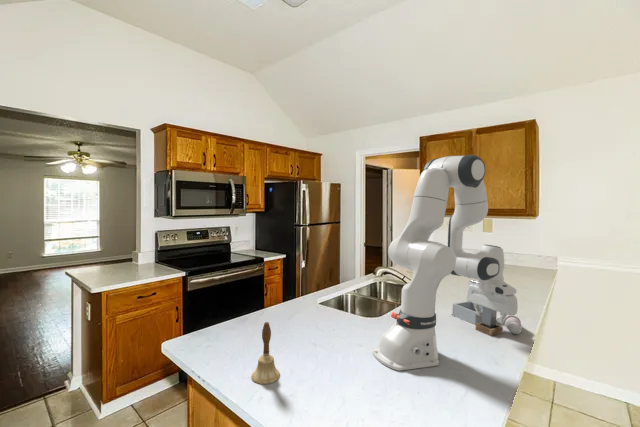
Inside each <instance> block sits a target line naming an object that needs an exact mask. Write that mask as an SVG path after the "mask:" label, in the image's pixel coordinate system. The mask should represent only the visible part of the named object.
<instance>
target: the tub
mask: <svg viewBox="0 0 640 427" xmlns="http://www.w3.org/2000/svg"><path fill="white" fill-rule="evenodd" d="M479 308H480V310H481V311H482V315H480V316H479V315H476V310H475V307H474V303H471V302H469V301H467V300H466V301H461V302H457V303H456V302H455V303H452V314H451V315H452V316H453V317H456V318H458V319H461V320H462V321H466V322H468V323H470V324H472V325H475V326H476V323H480V322H482V318H483V306H479Z"/></svg>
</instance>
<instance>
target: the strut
mask: <svg viewBox="0 0 640 427" xmlns="http://www.w3.org/2000/svg"><path fill="white" fill-rule="evenodd" d="M497 312H498V311H495V310H492V309H490V308H487V307H484V306H483V318H482V326H485V327H487V328H490V329H493V328H496V325H497Z"/></svg>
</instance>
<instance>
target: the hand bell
mask: <svg viewBox="0 0 640 427" xmlns="http://www.w3.org/2000/svg"><path fill="white" fill-rule="evenodd" d="M271 337H272V330H271V326H270V322H269V321H266V322H264V323H263V327H262V330H261V338H262V343H263V350H262V351H263V355H261V356H259V357H258V360H257V361H258V362H257V366H256V368H255V370H254V371H253V372H252V373H251V376H250V377H251V380H252V382H254V383H256V384H259V385H268V384H272V383H275V382H277V381H278V380H279V379H280V377H281V373H280V371H279V370H278V369H277V368H276V365H275V359H274V356H273V355H271V354H270V341H271Z"/></svg>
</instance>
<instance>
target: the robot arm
mask: <svg viewBox="0 0 640 427" xmlns="http://www.w3.org/2000/svg"><path fill="white" fill-rule="evenodd" d="M423 167H424V168H423V171H422V172H421V173H420V175H419V178H418V180H417V182H416V183H417V184H416V187H415V190H414V194H413V199H412V203H411V207H410V208H411V209H410V212H409V217H408V220H407V222H406V224H405V226H404V228H403V230H402V231H401V233H400V234H399V235H398V236H397V237H396V238H395V239H393V240H392V241H391V242H390V244H389V246H388V250H387V253H388V258H389V260H390V261H391V262H392V263H394V264H395V265H397V266H399V267H400V268H403V269H407V270H410V271H412V276H411V279H410V282H407V283H405V284H404V285H403V287H402V288H401V300H400V301H401V305H400V309H399V311H398V313H397V312H395V311H392V312H391V314H390V316H391V318H393V319H394V320H396V321H395V322H394V323H393V324H392V326H390V327H389V328H388V329H387V330H386V331H385V332H383V334H382V335H381V336H380V339H379V340H380V341H379V346H376V347H374V348H372V352H371V353H372V355H373V357H374V358H375V359H376V360H378V361H379V362H380V363H382V365H384V366H386V367H388V368H389V369H392V370H395V371H407V370H414V369H421V368H423V369H424V368H430V367H437V366H439V365H440V361H439V357H440V356H439V354H440V353H439V351H438V347H437V335H436V326H437V313H436V301H437V300H436V299H437V291H438V289H439V286H440V283H441V282H442V281H443V279H444V278H446V277H447V276H449V275H452V276H457V277H464V278H469V279H472V280H469V281H468V283H467V289H466V293H465V299H466V301H469V302H471V303H474V307H475V310H476V315H479V316H480V315H482V311H481V310H480V308H479V306H484V307H487V308H490V309H492V310H495V311H497V312H498V313H499V315H500V317H498V318H497V317H496V323H498V324H501V325H502V324H503V325H504V319H505V317H506V316H507V315H509V316H512V315H514V316H515V315H516V314H517V313H518V306H519V305H518V298H517V296H516V294H517V289H516V288H515V287H514V286H512V285H510V284H509V283H507V282H505V280H504V270H505V255H504V254H505V253H504V249H503V248H502V247H501V246H498V245H493V244H483V245H481V247H480V251H479V252H477V253H471V252H465V251H464V249H463V235H464V233H463V232H464V230H465V229H466V228H468V227H471V226H475V225H476V224H479V223H480V222H483V220H485V218H486V217H487V215H488V212H489V202H488V201H489V200H488V194H487V188H486V185H485V181H484V179H485V175H486V165H485V162H484V161H483V160H482V158H481V157H480V156H478V155H474V154H466V155H449V156H448V155H447V156H443V157H439V158H438V157H437V158H433V159H431V160H428V162H426V164H425V165H424V166H423ZM449 188H453V189H454V190H453V193H454V212H453V214H451V215H450V217H449V221H448V230H447V245H445V244H443V243H441V242H437V241H432V240H429V239H430V237H431V235H432V234H433V233H434V232H435V231H436V230H438V229H440V228H441V227H442V226H443V224H444V221H445V217H446V216H445V215H446V210H447V204H448V199H449V190H450V189H449ZM473 279H474V280H473Z"/></svg>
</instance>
